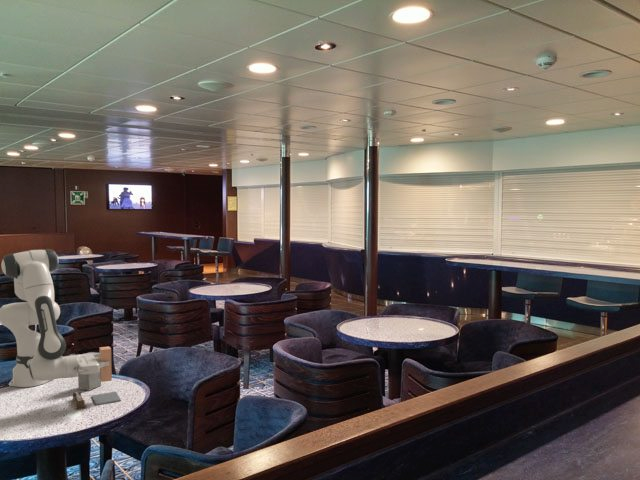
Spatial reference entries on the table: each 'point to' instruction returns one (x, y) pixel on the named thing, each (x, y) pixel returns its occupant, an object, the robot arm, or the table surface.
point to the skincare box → (89, 378)
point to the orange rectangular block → (106, 370)
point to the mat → (106, 398)
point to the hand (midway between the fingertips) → (107, 361)
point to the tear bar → (78, 400)
